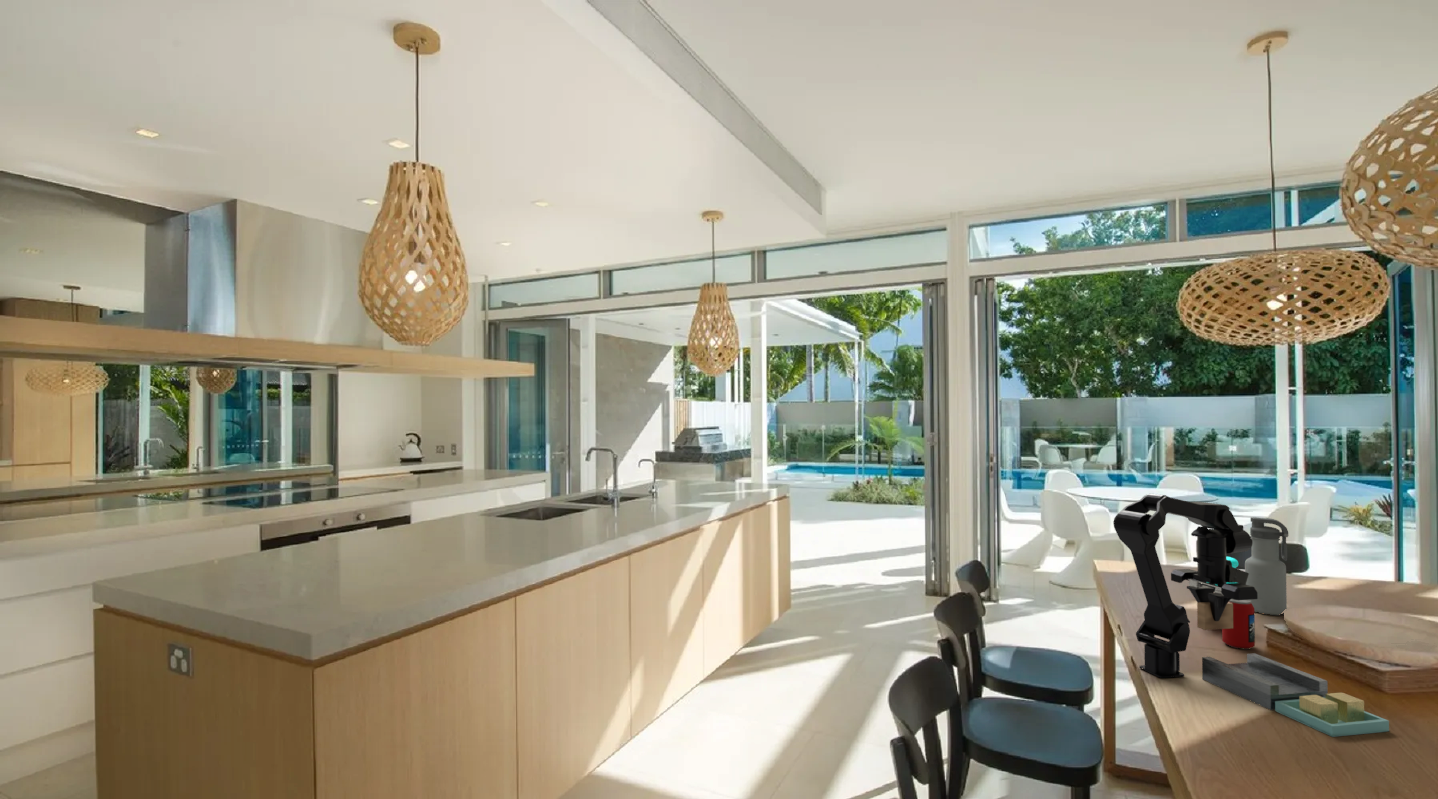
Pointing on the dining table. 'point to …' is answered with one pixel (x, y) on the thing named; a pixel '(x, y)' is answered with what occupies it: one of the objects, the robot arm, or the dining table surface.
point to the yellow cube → (1348, 707)
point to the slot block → (1262, 680)
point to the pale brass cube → (1319, 708)
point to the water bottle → (1267, 566)
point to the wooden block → (1206, 618)
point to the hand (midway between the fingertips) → (1212, 619)
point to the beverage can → (1241, 625)
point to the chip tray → (1339, 729)
